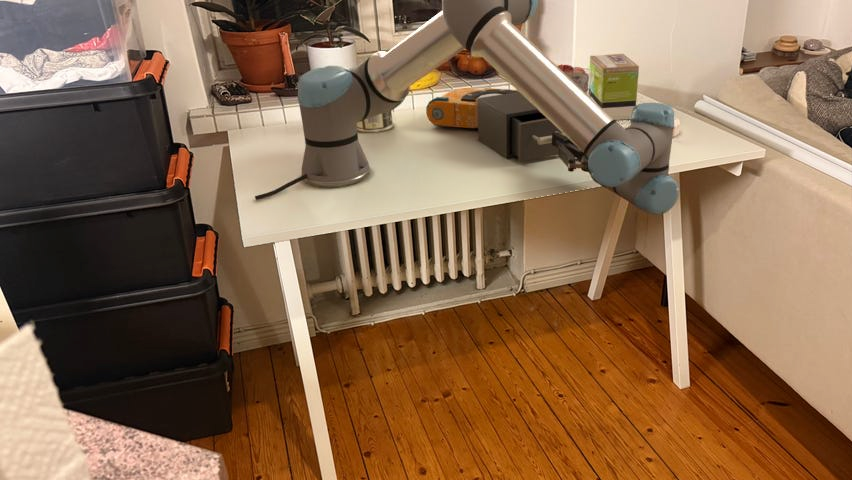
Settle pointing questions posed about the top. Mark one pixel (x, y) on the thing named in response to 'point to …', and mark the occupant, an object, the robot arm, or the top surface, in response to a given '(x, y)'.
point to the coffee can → (376, 123)
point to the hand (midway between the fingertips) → (554, 138)
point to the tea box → (614, 84)
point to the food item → (576, 76)
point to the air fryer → (500, 119)
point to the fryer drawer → (532, 136)
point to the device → (459, 107)
